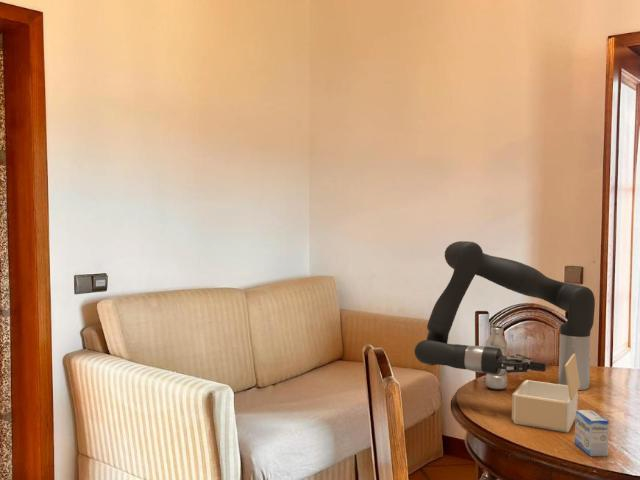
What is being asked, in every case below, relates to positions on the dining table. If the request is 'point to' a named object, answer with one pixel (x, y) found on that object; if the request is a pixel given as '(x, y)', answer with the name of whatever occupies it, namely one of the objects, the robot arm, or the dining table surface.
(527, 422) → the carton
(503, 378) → the plastic bottle
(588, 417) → the medicine box
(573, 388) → the flap
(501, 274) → the robot arm
